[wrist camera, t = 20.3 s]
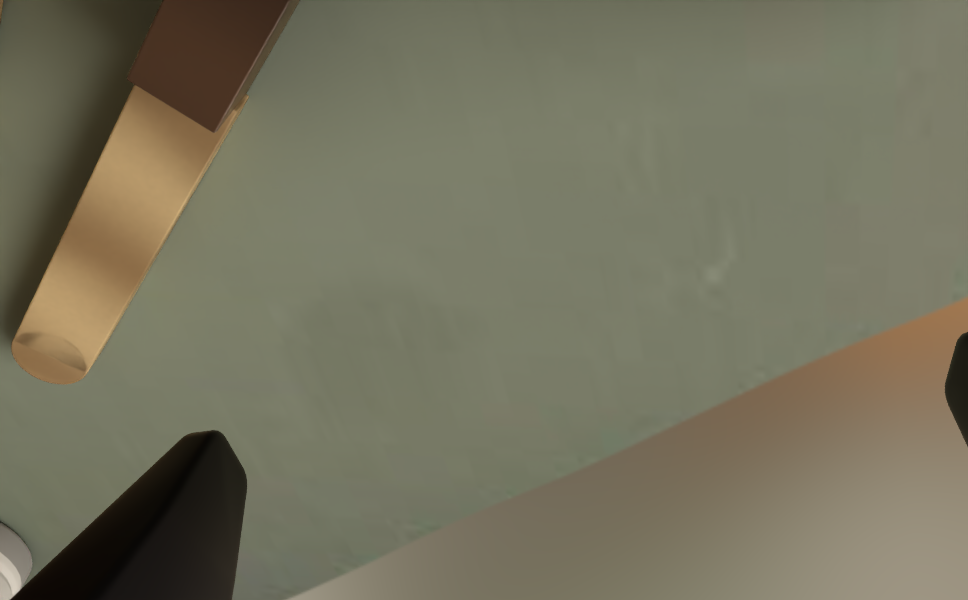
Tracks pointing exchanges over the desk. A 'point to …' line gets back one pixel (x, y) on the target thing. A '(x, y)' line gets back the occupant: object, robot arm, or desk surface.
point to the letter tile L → (0, 5)
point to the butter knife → (146, 174)
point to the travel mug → (12, 563)
